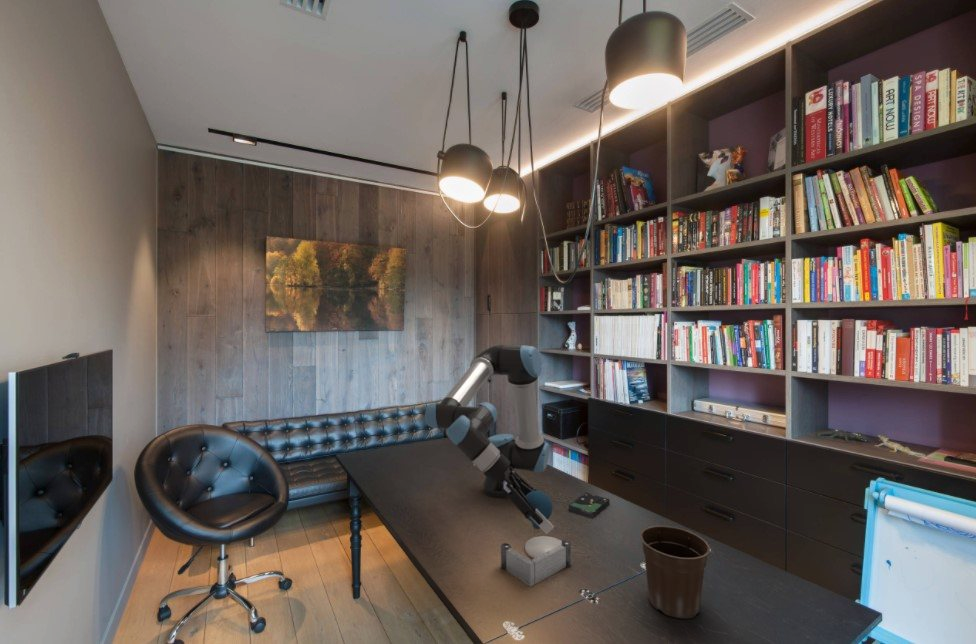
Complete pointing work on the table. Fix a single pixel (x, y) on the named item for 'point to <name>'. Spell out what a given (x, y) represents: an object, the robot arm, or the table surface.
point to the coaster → (540, 545)
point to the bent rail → (535, 563)
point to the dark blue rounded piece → (540, 506)
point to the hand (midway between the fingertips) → (549, 521)
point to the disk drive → (589, 505)
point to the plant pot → (674, 569)
